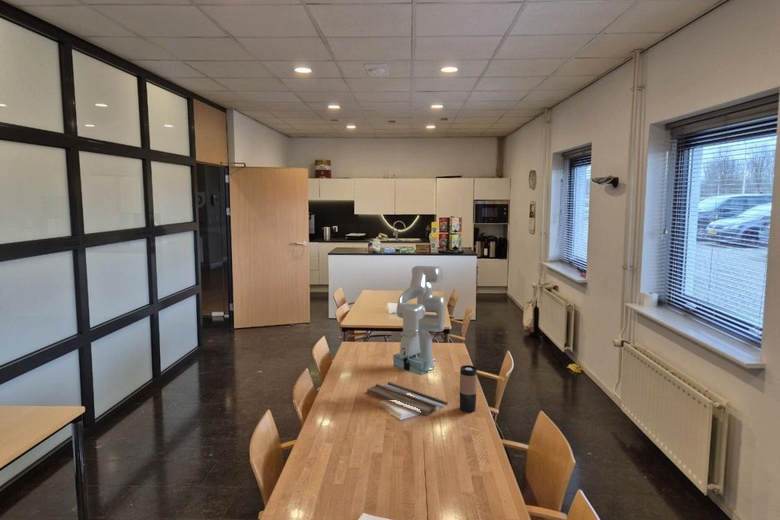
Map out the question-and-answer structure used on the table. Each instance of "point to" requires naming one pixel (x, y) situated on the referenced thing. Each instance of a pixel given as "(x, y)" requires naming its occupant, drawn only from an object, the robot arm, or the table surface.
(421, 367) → the teal rectangular block
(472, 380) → the travel mug
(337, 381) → the table surface
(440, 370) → the table surface
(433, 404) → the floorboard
